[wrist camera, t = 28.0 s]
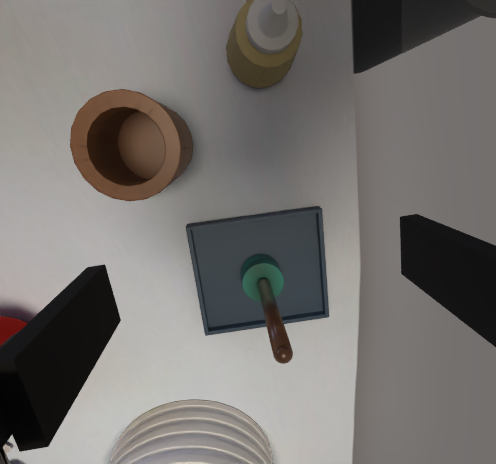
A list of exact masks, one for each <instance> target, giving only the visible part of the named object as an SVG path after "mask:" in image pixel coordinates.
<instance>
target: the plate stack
mask: <svg viewBox="0 0 496 464" xmlns="http://www.w3.org/2000/svg"><path fill="white" fill-rule="evenodd" d="M109 464H273V461H272V454H271V449H270V445H269V442H268V440H267V438H266V436H265V434H264V433H263V431H262V430H261V428H260V427H259V426H258V425H257V424H256V423H255V422H254V421H253V420H252V419H251V418H250V417H248V416H247V415H245V414H244V413H242V412H241V411H239V410H237V409H235V408H233V407H230V406H228V405H225V404H221V403H217V402H212V401H205V400H185V401H177V402H172V403H168V404H165V405H162V406H159V407H157V408H154V409H152V410H150V411H148V412H146V413H145V414H143V415H142V416H140V417H139V418H137V419H136V420H135V421H134V422H133V423H131V424H130V425H129V426H128V427H127V429H126V430H125V431H124V432H123V434H122V435H121V437H120V438H119V440H118V442H117V444H116V446H115V449H114V452H113V455H112V458H111V460H110V463H109Z"/></svg>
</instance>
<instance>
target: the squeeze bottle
mask: <svg viewBox="0 0 496 464" xmlns="http://www.w3.org/2000/svg"><path fill="white" fill-rule="evenodd" d="M301 37H302V22H301V18H300V16H299V13H298V11H297V9H296V6H295V5H294V4H293V2H292V1H291V0H247V1H246V3H245V4H244V6H243V7H242V8H241V10H240V11H239V13H238V15H237V18H236V20H235V22H234V25H233V27H232V29H231V31H230V34H229V38H228V42H227V46H226V50H227V59H228V63H229V65H230V67H231V69H232V71H233V73H234V75H235V76H236V77H237V78H239V79H240V80H241V81H242V82H243V83H244V84H247V85H250V86H253V87H256V88H261V87H270V86H272V85H274V84H275V83H277V82H279V81H280V80H282V79H283V77H284V76H285V75H286V73H287V72H288V71H289V69H290V67H291V65H292V62H293V60H294V57H295V55H296V53H297V50H298V47H299V44H300V41H301Z"/></svg>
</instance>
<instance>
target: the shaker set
mask: <svg viewBox="0 0 496 464" xmlns="http://www.w3.org/2000/svg"><path fill="white" fill-rule="evenodd" d="M3 449H4V451H5V453H6V454H7V453H9V451H10V450H11V448H10V447H9V446H7V445H6V444H5V445H4V446H3ZM9 464H11V463H9Z"/></svg>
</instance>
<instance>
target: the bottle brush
mask: <svg viewBox="0 0 496 464" xmlns="http://www.w3.org/2000/svg"><path fill="white" fill-rule="evenodd" d="M241 278H242V286H243V289H244V292H245V293H246V295H247V296H248V297H249V298H251V299H252V300H255V301H259V302H261V304H262V308H263V312H264V317H265V321H266V325H267V330H268V334H269V338H270V342H271V347H272V351H273V355H274V358H275V360H276V361H277V362H279V363H282V364H285V363H288V362H289V361H290V360H291V359H292V356H293V352H292V348H291V345H290V342H289V339H288V336H287V333H286V330H285V327H284V324H283V321H282V318H281V315H280V312H279V309H278V305H277V302H276V299H275V298H276V297H277V296H278V295H279V294H280V292H281V291H282V289H283V286H284V278H283V275H282V272H281V270H280V268H279V265H278V263H277V262H276V260H275V259H274V258H272V257H271V256H269V255H266V254H256V255H253V256H251V257H249V258H248V259H247V260H246V261H245V262H244V264H243V266H242V268H241Z"/></svg>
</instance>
